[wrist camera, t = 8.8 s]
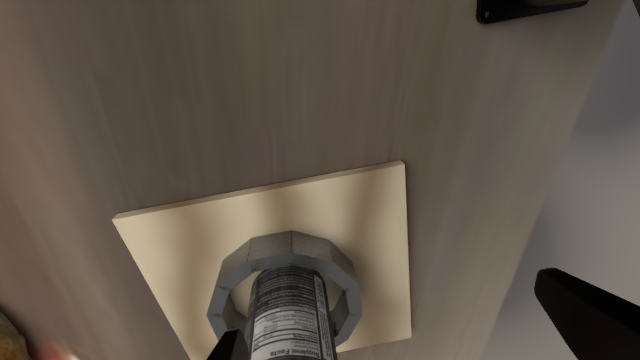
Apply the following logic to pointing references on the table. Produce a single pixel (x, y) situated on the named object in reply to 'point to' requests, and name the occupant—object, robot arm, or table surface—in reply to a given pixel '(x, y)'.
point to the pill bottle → (289, 316)
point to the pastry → (11, 342)
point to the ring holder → (281, 253)
